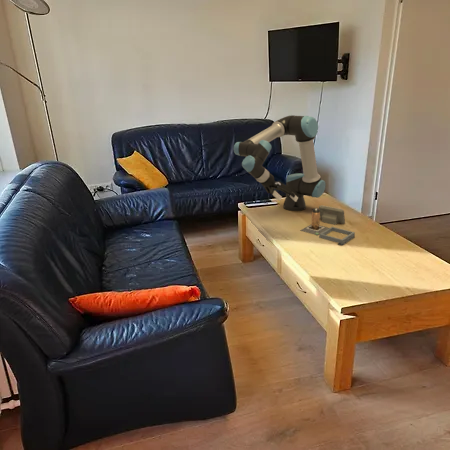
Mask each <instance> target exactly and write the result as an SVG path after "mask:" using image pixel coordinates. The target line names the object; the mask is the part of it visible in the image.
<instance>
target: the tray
mask: <svg viewBox="0 0 450 450" xmlns="http://www.w3.org/2000/svg"><path fill="white" fill-rule="evenodd" d="M328 228H329V229H327V230H326V231H324V232H322V233H321V234H319V235H318V236H319V237H318V238H319V239H324V240H327V241H331V242H333V243H337V245H338V246H343V245H346V244H347V243H348V242H350V241H351V240H353V239H354V238H355V235H356V232H354V231H351V230H347V229H343V228H340V227H339V228H338V227H334V226H331V227H328ZM332 232H335V233H339V234H343V235H346V236H345V237H343V238H342V239H341V238H338V237H335V236H331V235H328V234H330V233H332Z"/></svg>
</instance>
